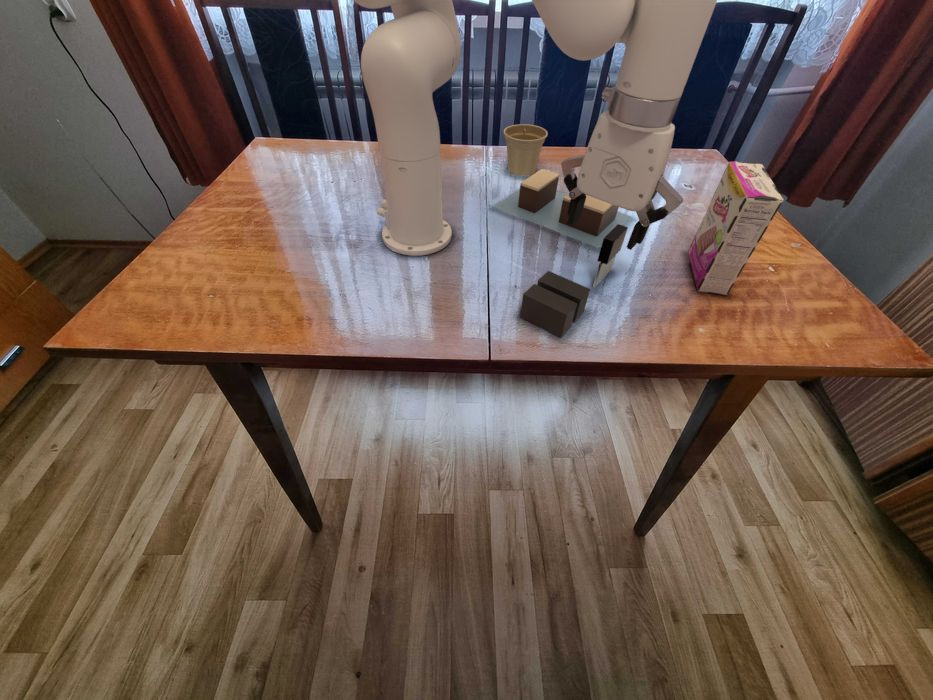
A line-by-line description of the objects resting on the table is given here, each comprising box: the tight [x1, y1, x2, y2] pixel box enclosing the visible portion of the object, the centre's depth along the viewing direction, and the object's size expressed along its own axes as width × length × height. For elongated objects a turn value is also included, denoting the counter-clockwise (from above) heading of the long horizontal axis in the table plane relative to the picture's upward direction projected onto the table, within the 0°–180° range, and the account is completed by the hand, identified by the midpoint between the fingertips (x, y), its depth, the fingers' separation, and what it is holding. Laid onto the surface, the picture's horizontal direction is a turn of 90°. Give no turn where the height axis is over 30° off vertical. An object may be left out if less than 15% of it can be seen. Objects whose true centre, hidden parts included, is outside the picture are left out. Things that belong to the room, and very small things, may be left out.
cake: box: [559, 192, 620, 236], centre depth 78 cm, size 8×8×5 cm
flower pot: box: [503, 123, 549, 177], centre depth 92 cm, size 9×9×9 cm
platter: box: [493, 189, 632, 249], centre depth 83 cm, size 23×14×1 cm, turn 52°
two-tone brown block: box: [518, 168, 560, 213], centre depth 83 cm, size 4×8×5 cm, turn 142°
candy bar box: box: [687, 161, 785, 296], centre depth 64 cm, size 11×5×16 cm, turn 168°
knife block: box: [519, 270, 591, 339], centre depth 61 cm, size 7×7×4 cm
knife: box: [592, 224, 629, 289], centre depth 65 cm, size 6×2×9 cm, turn 142°
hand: (602, 232), depth 63 cm, fingers open, 9 cm apart
